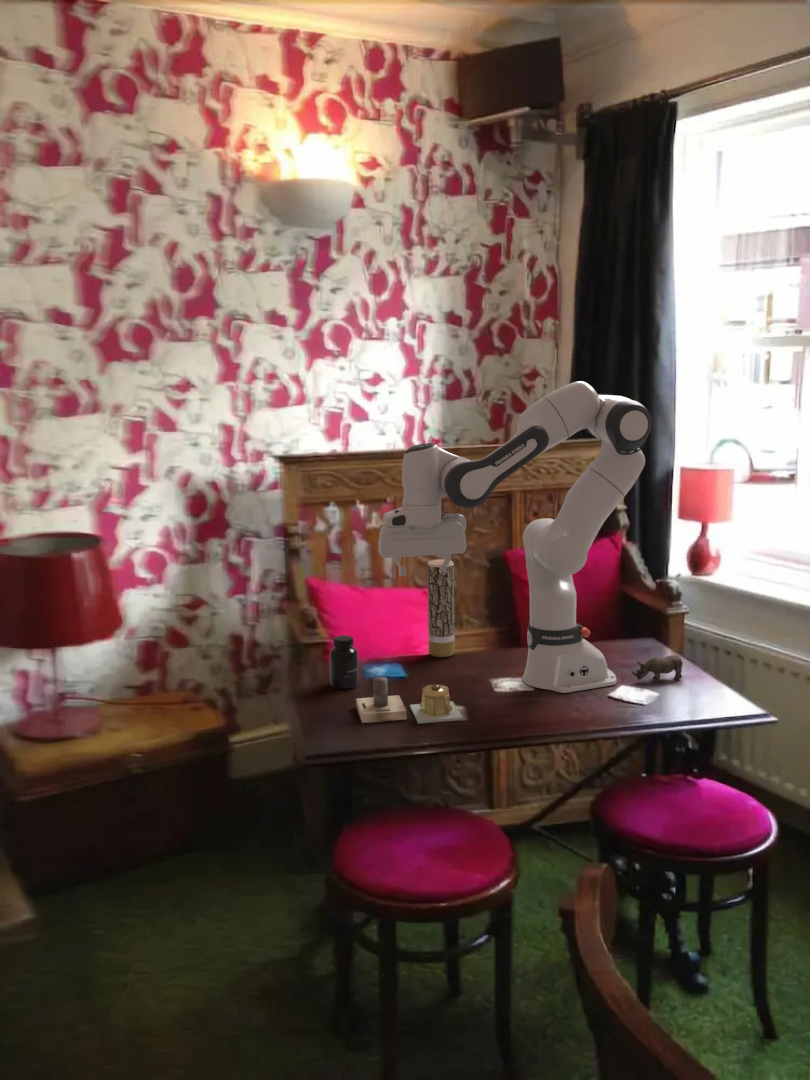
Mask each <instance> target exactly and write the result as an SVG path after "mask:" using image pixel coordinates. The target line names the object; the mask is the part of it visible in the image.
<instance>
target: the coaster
mask: <svg viewBox="0 0 810 1080" xmlns="http://www.w3.org/2000/svg"><path fill="white" fill-rule="evenodd" d="M450 706H452V711H451V712H449V713H447V714H445V715H440V716H431V715H426V714H424V712H423V711H422V707H420V703H416V704H415V703H413V704H410V705H409V708H410V710H411V712H412V714H413V716H414V719H415V720H416V722H417V725H418V724H427V723H441V722H452V721H453V722H455V721H463V719H464V718H463V716H462V714H461V712H460V710H459V709H458V708H457V705H456V703H455V702H454V701H453V700H452V701H451V700H450Z"/></svg>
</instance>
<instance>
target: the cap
mask: <svg viewBox="0 0 810 1080" xmlns="http://www.w3.org/2000/svg"><path fill="white" fill-rule="evenodd" d="M449 691H450V689H449V687H448V686H446V685H444V684H439V683H434V684H428V685H426V686H423V687H422V693H421V702H419V704H420V707H422V711H423V712H424V714H426V715H431V716H440V715H445V714H447V713H449V712H451V711H452V706H450V701H451V699H450V697H451V696H450V695H451V694H450V693H449Z"/></svg>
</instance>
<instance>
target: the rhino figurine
mask: <svg viewBox="0 0 810 1080" xmlns="http://www.w3.org/2000/svg"><path fill="white" fill-rule="evenodd" d="M636 663H637V665H639V667H640V668H639V669H635V670H636V672H634V671H633V670H631V674H632V675H633V676H635V677H636V679H637V681H638V680H642V679H643V678H645V677H646V676H648V674H649V673H650V672H652V673H653V674H654V676H652V679H654V680H653V682H654V683H658V684H659V683H660V682H661V679H660V678H661V674H666V675H667V674H669V673H672V672H673V671H675V675H674V677H673V681H674V682H676V681H677V682H678V681H680V680H681V678H682V676H683V675H682V671H683V670H682V668H683V660H682V658H681V657H680V656H678V655H677V654H676V655H667V656H665V657H658V656H652V657H650V658H648V659H646V660H645V661H644V662H640V661H636Z"/></svg>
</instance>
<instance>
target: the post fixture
mask: <svg viewBox="0 0 810 1080" xmlns="http://www.w3.org/2000/svg"><path fill="white" fill-rule="evenodd" d="M388 685H389V684H388V678H387V677H385V676H376V677H374V678H373V679H372V687H373V689H372V691H373V696H372V697H370V696H369V697H361V698H360V697H359V698H357V697H356V698H355V704H356V705H355V708H356V710H357V713H358V716H359V719H360V722H361V723H362V724H365V723H366V724H368V723H381V722H390V721H403V720H407V719H408V716H407V715H408V713H407V712H408V711H407V709H406V707H405V705H404V702H403V701H402V699H401V697H400V695H398V694H397V695H388V693H389V692H388V691H389V690H388Z"/></svg>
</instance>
